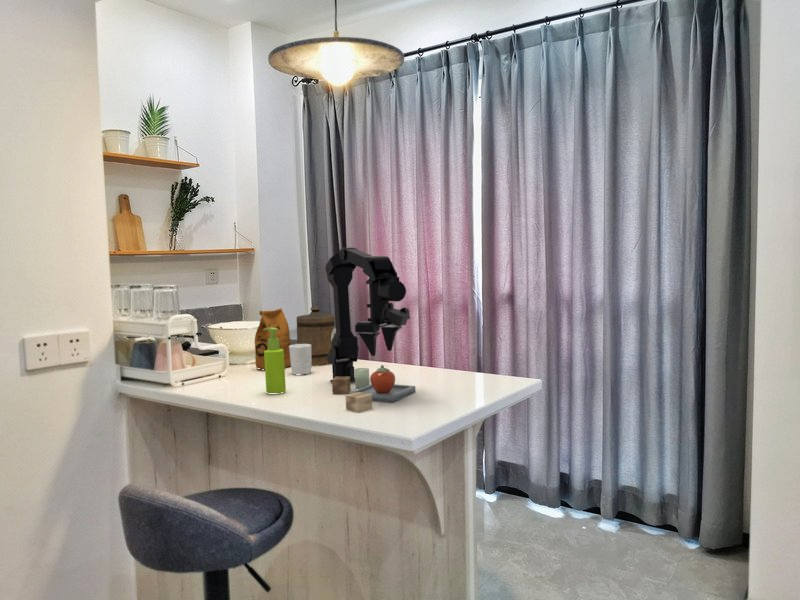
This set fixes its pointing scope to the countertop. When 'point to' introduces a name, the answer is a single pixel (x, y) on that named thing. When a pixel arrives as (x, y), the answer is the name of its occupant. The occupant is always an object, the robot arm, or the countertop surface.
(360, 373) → the sage green capsule
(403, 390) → the dish
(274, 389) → the soap dispenser
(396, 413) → the countertop surface
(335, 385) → the walnut block
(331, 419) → the countertop surface
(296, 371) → the white cup
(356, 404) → the beech block
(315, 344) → the wooden container
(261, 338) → the coffee package
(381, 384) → the tomato
